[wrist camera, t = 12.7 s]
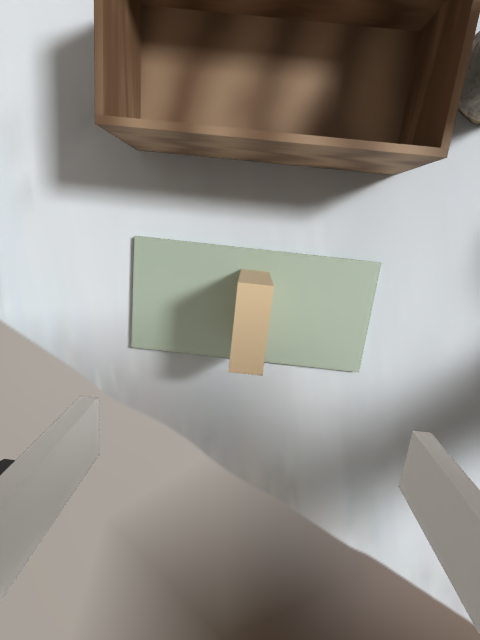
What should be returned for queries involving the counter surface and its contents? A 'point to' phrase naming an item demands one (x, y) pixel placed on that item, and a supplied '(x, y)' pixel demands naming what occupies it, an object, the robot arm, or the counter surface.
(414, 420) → the counter surface
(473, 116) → the spray can
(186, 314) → the lid
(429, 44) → the wooden box
